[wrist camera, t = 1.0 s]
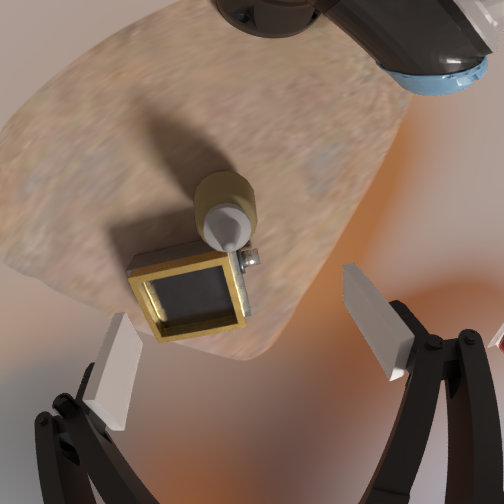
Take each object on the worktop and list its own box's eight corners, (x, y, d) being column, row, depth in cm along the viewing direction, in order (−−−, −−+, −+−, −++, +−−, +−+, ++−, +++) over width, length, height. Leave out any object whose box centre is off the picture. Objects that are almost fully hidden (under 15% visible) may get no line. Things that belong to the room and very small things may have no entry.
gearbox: (252, 228, 42) (259, 249, 36) (265, 293, 48) (273, 321, 41) (134, 255, 42) (121, 280, 35) (159, 315, 47) (152, 343, 41)
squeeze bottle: (209, 157, 37) (202, 183, 21) (261, 180, 39) (293, 222, 23) (187, 208, 40) (167, 269, 24) (237, 229, 42) (251, 298, 26)
